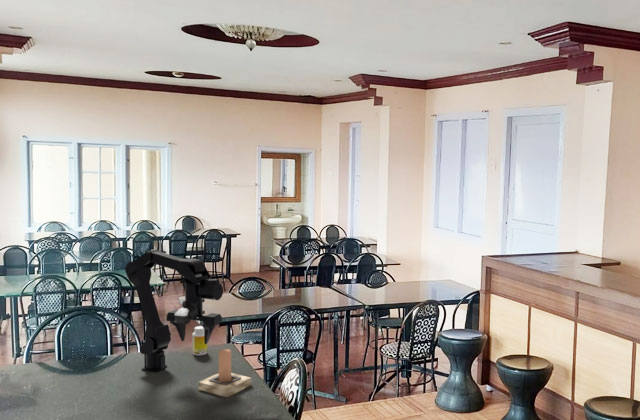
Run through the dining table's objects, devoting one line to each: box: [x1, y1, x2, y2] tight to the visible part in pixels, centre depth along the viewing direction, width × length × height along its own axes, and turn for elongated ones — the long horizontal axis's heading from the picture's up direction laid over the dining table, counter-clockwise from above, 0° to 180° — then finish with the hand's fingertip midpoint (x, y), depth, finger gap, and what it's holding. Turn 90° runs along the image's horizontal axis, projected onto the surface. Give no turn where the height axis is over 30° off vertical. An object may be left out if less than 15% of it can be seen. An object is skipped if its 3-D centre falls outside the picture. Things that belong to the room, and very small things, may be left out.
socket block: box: [198, 372, 252, 398], centre depth 187 cm, size 12×12×3 cm
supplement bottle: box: [191, 325, 208, 356], centre depth 221 cm, size 6×6×10 cm
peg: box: [218, 348, 232, 383], centre depth 187 cm, size 4×4×12 cm
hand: (194, 342), depth 196 cm, fingers open, 9 cm apart
